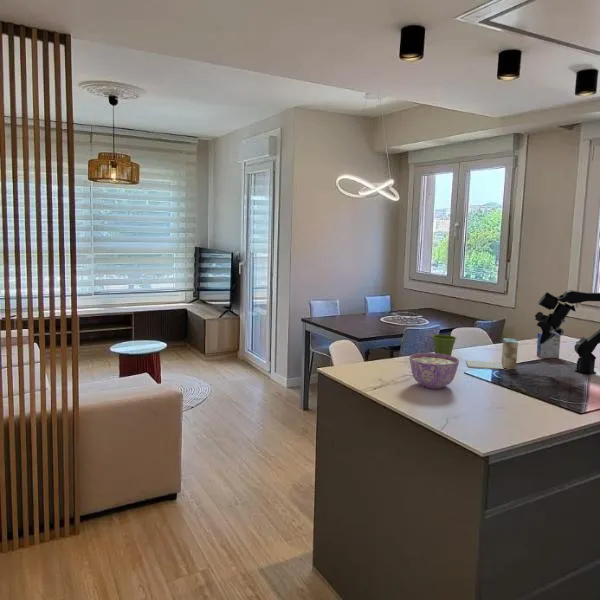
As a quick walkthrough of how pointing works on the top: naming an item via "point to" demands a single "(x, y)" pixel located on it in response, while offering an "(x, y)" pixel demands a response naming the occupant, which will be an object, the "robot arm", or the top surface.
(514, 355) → the oak block
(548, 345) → the ink cartridge box
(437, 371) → the bowl of food
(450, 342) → the plant pot
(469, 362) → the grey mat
